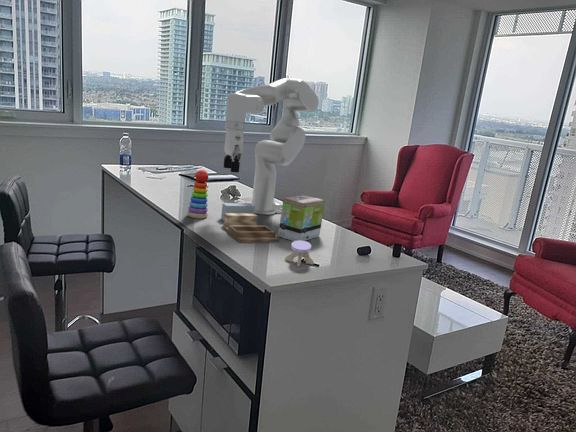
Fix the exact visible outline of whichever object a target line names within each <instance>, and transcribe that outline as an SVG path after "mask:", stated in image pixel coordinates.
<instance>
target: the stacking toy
mask: <svg viewBox="0 0 576 432" xmlns="http://www.w3.org/2000/svg"><path fill="white" fill-rule="evenodd" d="M194 178H195V180H196V181H195V182H194V184H193V185H194V186H193V188H192V193H191V195H192V196H191V197H190V202H189V206H188V207H187V208H188V211H187V213H186V214H187V216H188V217H190V218H193V219H206V218H207V217H208V195H209V194H208V193H207V192H208V189H207V187H208V183H207V181H208V180H209V173H208V172H207V171H206V170H205V169H200V170H199V169H198V170H197V171H196V173H195V175H194Z"/></svg>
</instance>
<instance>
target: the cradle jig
mask: <svg viewBox="0 0 576 432" xmlns="http://www.w3.org/2000/svg"><path fill="white" fill-rule="evenodd" d="M224 230H225V231H226V233H228V234H229V235H230V234H231V235H230V236H232V237H233V238H234V239H235V240H236V241H238V243H279V242H280V240H281V238H279V236H277V232H276V231H275V230H273V229H272V228H270V227H269V226H268V225H258V224H256V225H228V227H225V226H224Z"/></svg>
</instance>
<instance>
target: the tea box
mask: <svg viewBox="0 0 576 432" xmlns="http://www.w3.org/2000/svg"><path fill="white" fill-rule="evenodd" d="M325 203H326V200H324V199H322V198H318V197H314V196H310V195H305V194H302V195H297V196H288V197H283V201H282V208H281V213H280V219H279V220H280V221H279V225H278V226H279V227H278V232H277V237H278V238H279V237H280V238H283V239H286V240H289V241H292V242H294V241H298V240H301V241H308V240H312V239H315V238H319V237H320V236H321V235H320V234H321V231H322V230H321V229H322V223H323V215H324V209H325Z"/></svg>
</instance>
